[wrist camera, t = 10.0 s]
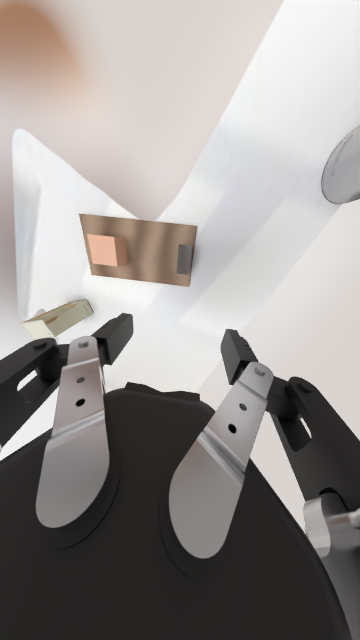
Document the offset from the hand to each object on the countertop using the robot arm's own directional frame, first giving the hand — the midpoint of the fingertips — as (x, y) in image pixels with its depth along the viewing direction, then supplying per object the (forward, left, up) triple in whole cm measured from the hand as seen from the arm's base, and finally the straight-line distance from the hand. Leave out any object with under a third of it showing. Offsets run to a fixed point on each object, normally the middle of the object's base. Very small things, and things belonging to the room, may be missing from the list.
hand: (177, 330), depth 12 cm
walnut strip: (+12, -4, -23) cm, 26 cm away
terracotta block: (+17, -4, -22) cm, 28 cm away
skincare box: (+30, +12, -24) cm, 40 cm away
